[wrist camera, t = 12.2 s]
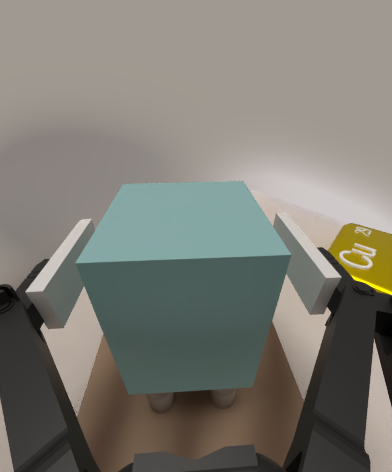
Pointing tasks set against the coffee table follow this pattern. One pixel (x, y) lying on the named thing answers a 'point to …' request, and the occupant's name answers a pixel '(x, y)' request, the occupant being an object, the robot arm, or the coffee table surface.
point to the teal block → (184, 284)
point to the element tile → (365, 255)
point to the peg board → (190, 414)
